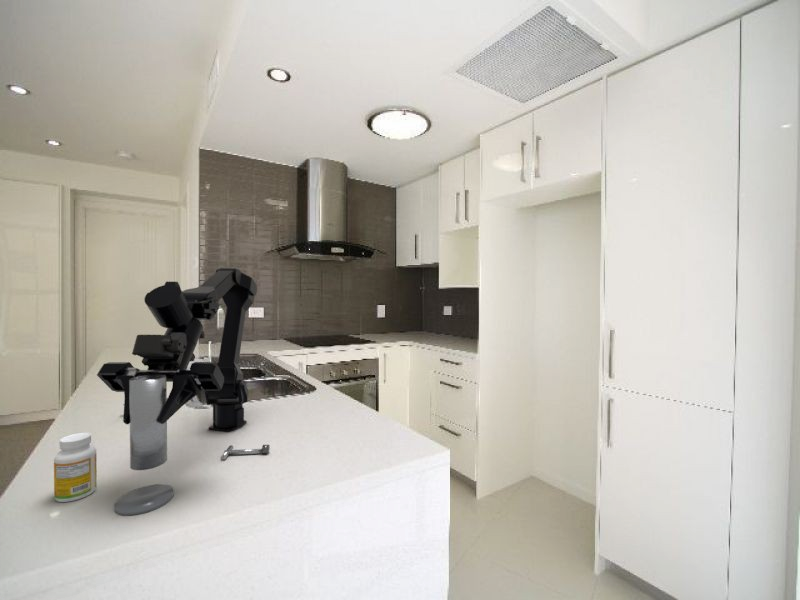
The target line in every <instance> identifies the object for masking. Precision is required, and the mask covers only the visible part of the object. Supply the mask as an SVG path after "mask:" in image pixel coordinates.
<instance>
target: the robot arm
mask: <svg viewBox="0 0 800 600" xmlns="http://www.w3.org/2000/svg"><path fill="white" fill-rule="evenodd" d="M257 293H258V287H257V283H256V282H255V280H254V279H253V278H252V277H251V276H250V275H247V274H245V273H243V272H242V271H241V270H240V269H239V268H236V267H220V268H217V269H216V271H215V273H214V274H213V275H211V276H210V277H209V278H208V279H206V281H204V282H203V283H202V284H200V285H199V286H197V287H194V288H193V287H192V288H188V289H184V290H182V289H181V286H180V284H179V282H178V281H165V283H164V285H161V286H157V287H155V288H153V289H152V290H150V291H149V292H147V293H146V294H145V296H144V303H145V305H146V306H147V308H148V310H149V311H150V312H151V314H152V316H153V317H154V318H155V319H154V320H156V322H157V323H158V325H159V326H160V327H162V328H165V329H166V331H165V333H164V335H163V334H137V335H136V336H135V337H136V338H135V342H134V344H133V349H132V353H131V354H132V355H133V356H138V357H140V358H142V360H141V363H142V364H143V365H144V366H145V367H147V369H139V368H137V367H134V366H133V365H132V362H131V361H130V362H129V361H128V362H127V361H123V362H122V361H117V362H116V361H115V362H114V361H113V362H112V361H111V362H106V363H103V364H102V366H101V367H100V368H99V371H98V372H97V374H96V376H97V378H99V379H100V380H101V381H102V382H103V383H104V384H105V385H106V386H107V387H108V388H109V389H110V390H111V391H113V392H116V393H123V394H124V402H123V404H124V405H123V419H122V421H123V423H124V424H125V425H130V404H129V380H130V379H131V378H134V377H138V376H144V375H155V374H160V375H166V382H167V383H172V385H171V386H172V387H171V390H170V393H169V395H168V397H167V398H168V399H167V401H166V403H165V405H164V408H163V410H162V412H161V415H160V419H159V422H160V423H161V424H164V423H165V422H166V421H167V422H168V420H170V418H171V417H173V416H174V415H175V414H176V413H177V412H178V411H179V410H180V409H181V408H182V407H183V406H184V405H186V404H187V403H188V402H189V401H191V400H192V399H193V398H194V397H196V396H200V395H202V393H203V392H204V395H205V402H206V405H207V406H209V405H210V406H211V405H212V425H210V426H208V430H211V431H222V432H233V431H234V430H236V429H238V428H241V426H243V425H246V424H247V420H245V408H244V406H243V404H246V403H248V402H249V388H248V387H247V385H246V383H245V382H244V373H243V371H242V370H241V367H240V365H239V362H240V355H241V354H240V353H241V347H242V340H243V333H244V326H245V319H246V313H247V311H248V309H250V307H252V305H253V304H254V302H255V296H256V295H257ZM221 299H222V301H223V303H224V304H225V307H226V311H225V316H224V317H225V318H224V323H223V330H222V335H221V341H220V348H219V355H218V359H217V362H215V361H195V358H196V355H195V353H194V352H195V350H196V346H197V344H198V342H199V340H200V339H205V335H206V334H205V331H204V326H203V324H202V322H201V320H202V321H203V320H204V321H205V320H206V321H207V320H208V321H209V320H210V321H211V320H212V319H214V318H215V316H216V314H217V313H218V311H219V310H220V305H219V301H220V300H221ZM190 362H192V363H191V364H190ZM189 364H190V367H189ZM188 368H189V369H188Z"/></svg>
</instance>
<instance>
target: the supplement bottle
mask: <svg viewBox="0 0 800 600" xmlns="http://www.w3.org/2000/svg"><path fill="white" fill-rule="evenodd" d="M91 443H92V434H91V432H80V433H79V432H78V433H72V434H69V435H66V436H64V437H62V438H60V439H59V450H60V451H58V452H57V453H56V454H55V456H54V458H53V491H54V500H55V501H56V502H58V503H59V502H60V503H66V502H73V501H77V500H81V499H82V498H83V499H84V498H86V497H88V496H90V495H91V494H93V493H94V492H95V490H96V489H97V481H98V479H97V476H98V475H97V449H96V447H95V446H94V445H92V444H91Z"/></svg>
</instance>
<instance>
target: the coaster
mask: <svg viewBox="0 0 800 600" xmlns="http://www.w3.org/2000/svg"><path fill="white" fill-rule="evenodd" d="M173 498H174V487H173V486H171V485H168V484H151V485H146V486H141V487H139V488H135V489H133V490H131V491H128V492H126V493H125V494H122V495H121V496H120V497H119V498H117V499H116V500H115V502H114V505H113V510H114V512H115V513H116V514H117V515H119V516H137V515H138V516H139V515H143V514H146V513H150V512H153V511H155V510H157V509H159V508H161V507H163V506H165V505H166V504H168V503H169V502H170V501H171V500H172V499H173Z"/></svg>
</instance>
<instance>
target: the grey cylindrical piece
mask: <svg viewBox="0 0 800 600" xmlns="http://www.w3.org/2000/svg"><path fill="white" fill-rule="evenodd" d="M167 384H168V382H166V375H160V374H155V375H144V376H138V377H134V378H131V379H130V380H129V404H130V423H129V462H130V463H129V466H130V467H129V468H130V469H131V470H133V471H146V470H151V469H155V468H157V467H160V466H162V465H164V464H165V463H166V462H167V461H168V420H167V421H166V422H165V423H164V424H161V423H160V422H159V419H160V415H161V412H162V410H163V408H164V405H165V403H166V401H167V398H168V397H167Z"/></svg>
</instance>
